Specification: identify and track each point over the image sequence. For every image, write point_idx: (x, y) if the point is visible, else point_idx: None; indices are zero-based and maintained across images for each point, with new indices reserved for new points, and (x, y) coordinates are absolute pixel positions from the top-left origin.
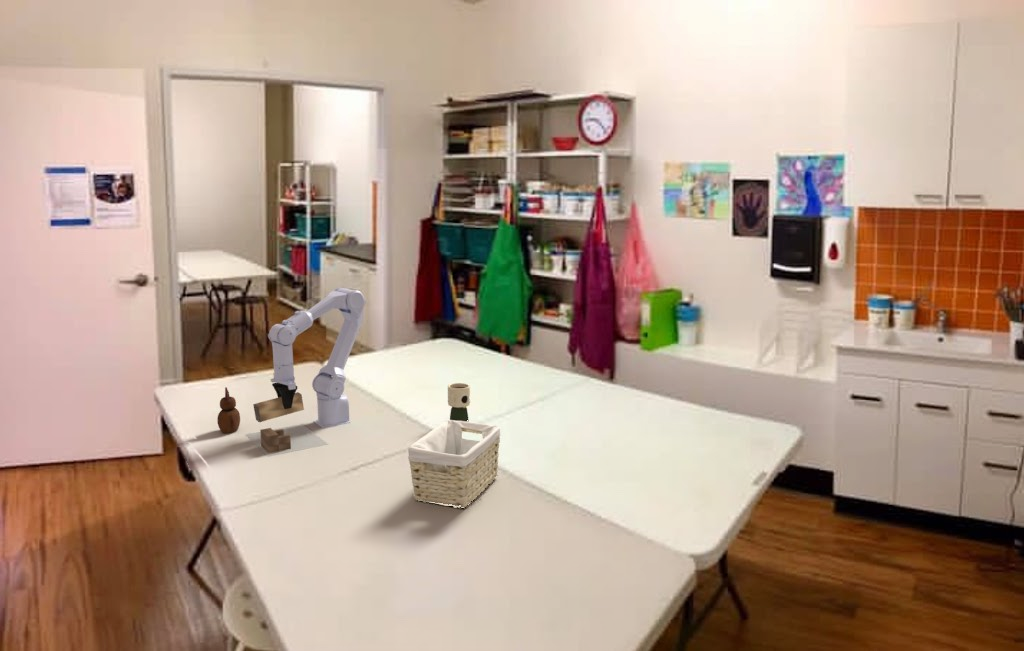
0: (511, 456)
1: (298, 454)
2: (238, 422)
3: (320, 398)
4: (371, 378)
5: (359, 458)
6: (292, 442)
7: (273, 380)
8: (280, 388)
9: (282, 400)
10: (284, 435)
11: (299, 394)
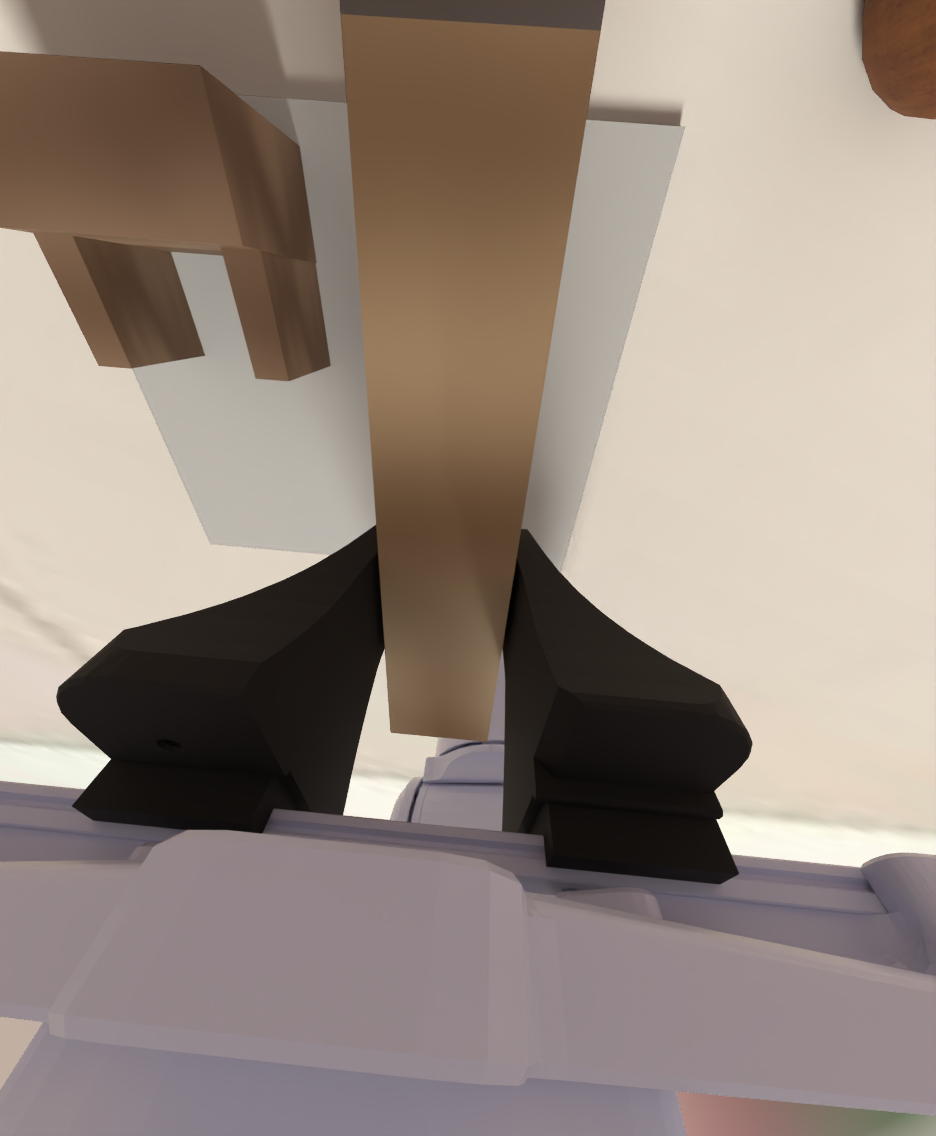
0: (50, 770)
1: (93, 358)
2: (929, 52)
3: (476, 749)
4: (786, 848)
5: (25, 562)
6: (292, 412)
7: (75, 1012)
8: (76, 693)
9: (363, 555)
10: (101, 320)
11: (406, 724)
